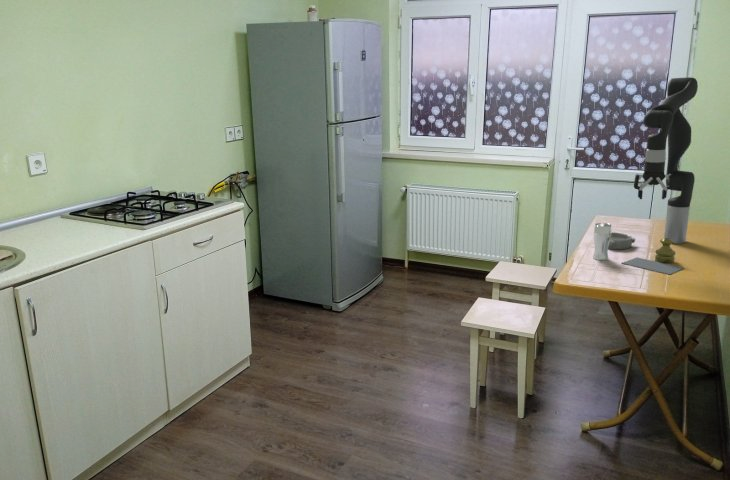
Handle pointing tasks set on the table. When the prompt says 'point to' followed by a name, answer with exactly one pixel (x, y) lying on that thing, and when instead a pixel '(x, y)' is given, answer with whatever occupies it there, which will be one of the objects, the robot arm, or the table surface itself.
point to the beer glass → (601, 240)
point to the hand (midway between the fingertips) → (651, 198)
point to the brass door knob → (665, 252)
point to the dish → (620, 241)
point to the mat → (653, 265)
